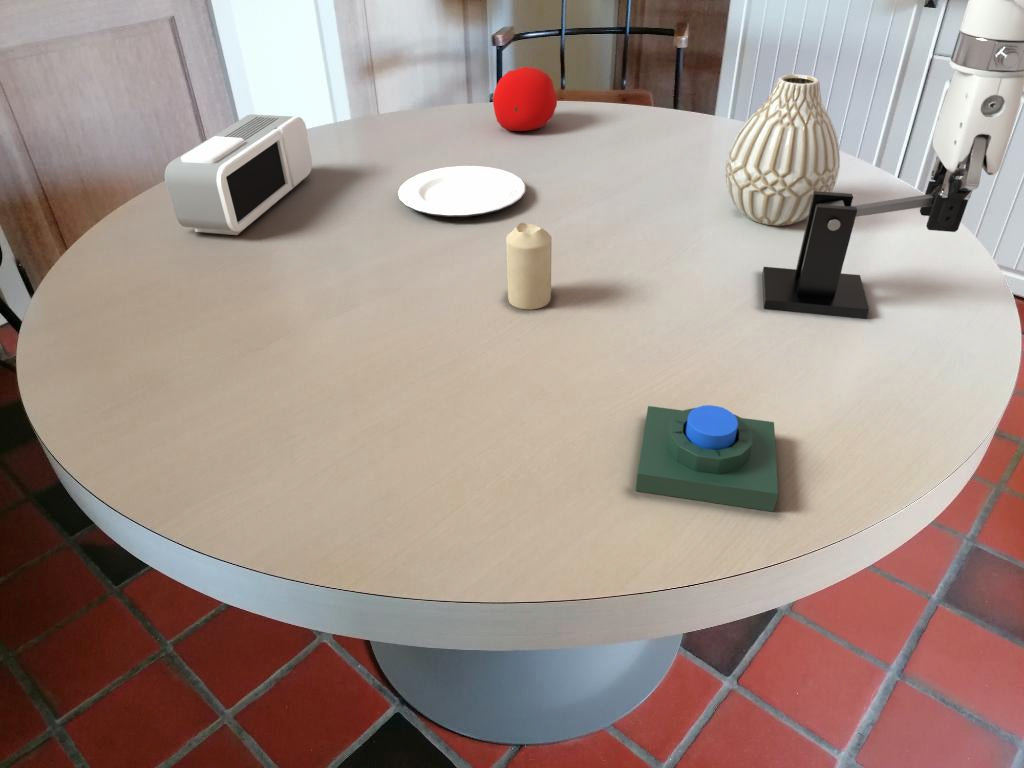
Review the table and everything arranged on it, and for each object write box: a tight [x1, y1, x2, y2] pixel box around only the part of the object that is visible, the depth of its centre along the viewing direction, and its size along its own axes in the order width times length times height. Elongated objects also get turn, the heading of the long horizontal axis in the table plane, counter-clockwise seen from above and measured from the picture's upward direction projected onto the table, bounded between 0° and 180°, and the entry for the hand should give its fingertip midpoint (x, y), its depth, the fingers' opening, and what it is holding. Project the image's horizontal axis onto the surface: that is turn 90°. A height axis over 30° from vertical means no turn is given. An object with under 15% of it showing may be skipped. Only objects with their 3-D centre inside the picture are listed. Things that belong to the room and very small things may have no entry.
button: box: [686, 404, 738, 450], centre depth 68 cm, size 4×4×2 cm
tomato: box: [492, 66, 558, 132], centre depth 150 cm, size 13×13×13 cm
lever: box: [820, 184, 943, 218], centre depth 87 cm, size 15×3×3 cm, turn 76°
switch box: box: [635, 405, 779, 512], centre depth 69 cm, size 12×10×4 cm
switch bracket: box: [761, 191, 870, 320], centre depth 92 cm, size 12×9×13 cm
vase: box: [725, 73, 841, 227], centre depth 110 cm, size 16×16×20 cm
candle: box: [505, 222, 553, 310], centre depth 93 cm, size 6×6×10 cm
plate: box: [397, 165, 526, 218], centre depth 123 cm, size 21×21×2 cm
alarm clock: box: [164, 114, 313, 236], centre depth 120 cm, size 27×9×12 cm, turn 167°
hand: (937, 221), depth 87 cm, fingers closed on lever, 3 cm apart
